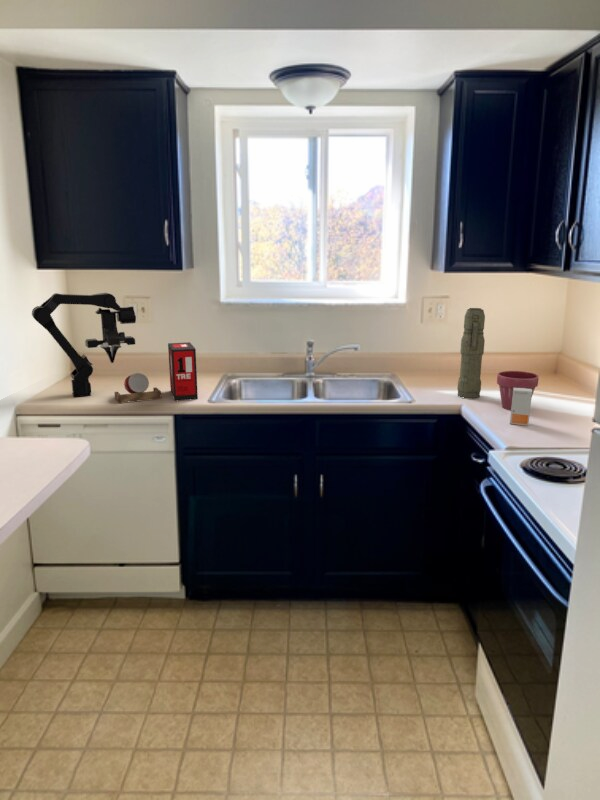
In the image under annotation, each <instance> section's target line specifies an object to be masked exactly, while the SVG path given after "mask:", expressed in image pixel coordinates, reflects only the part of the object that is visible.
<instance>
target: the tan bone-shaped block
mask: <svg viewBox="0 0 600 800" xmlns="http://www.w3.org/2000/svg"><path fill="white" fill-rule="evenodd" d="M160 398H161V399H162V393H161V390H160V389H159V388H157V387H153V388H152V391H151V390H150V391H144V392H141V393H132V394H131V393H123V394H121V393H120V392H119V391H114V400H115V401H116V402H117V403H118V404H123V403H122V402H126V403H129V402H128V401H135V402H138V401H137V400H143V401H149V399H152V400H159V399H160ZM161 399H160V400H161Z"/></svg>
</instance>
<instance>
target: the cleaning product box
mask: <svg viewBox="0 0 600 800" xmlns="http://www.w3.org/2000/svg"><path fill="white" fill-rule="evenodd" d="M167 345H168V346H167V347H168V366H169V383H170V385H169V387H170V392H171V394H172V397H174V398H173V400H174V401H175V402H176V401H177V400H178V401H188V400H189V401H191V400H198V399H199V396H198V394H199V393H198V377H197V376H198V375H197V373H198V371H197V355H196V354H197V351H196V347H195V346H194V345H193V344H192V343H191V342H170V343H168V344H167ZM190 399H191V400H190Z"/></svg>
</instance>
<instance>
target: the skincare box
mask: <svg viewBox="0 0 600 800" xmlns="http://www.w3.org/2000/svg"><path fill="white" fill-rule="evenodd" d="M532 398H533V395H532V389H526V388H513V398H512V407H511V410H510V415H509V416H510V417H509V424H510V425H519V426H525V427H528V426H529V421H530V413H531V404H532Z"/></svg>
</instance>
